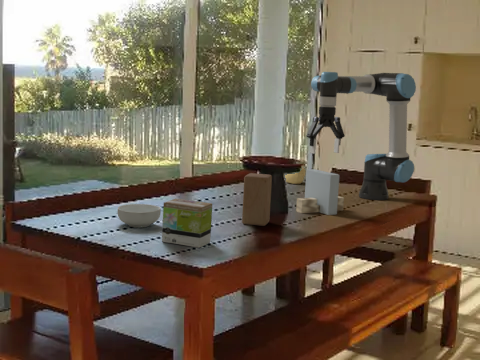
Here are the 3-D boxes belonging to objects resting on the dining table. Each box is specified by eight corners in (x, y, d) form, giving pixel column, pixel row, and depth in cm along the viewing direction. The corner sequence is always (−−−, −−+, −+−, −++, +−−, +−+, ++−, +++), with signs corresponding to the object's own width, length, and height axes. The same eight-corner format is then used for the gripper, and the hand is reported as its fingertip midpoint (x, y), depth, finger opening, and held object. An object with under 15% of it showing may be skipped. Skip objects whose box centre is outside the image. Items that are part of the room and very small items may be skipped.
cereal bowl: (121, 219, 294) (122, 202, 293) (162, 222, 294) (163, 204, 293) (113, 228, 277) (113, 210, 276) (156, 231, 277) (157, 212, 276)
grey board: (304, 207, 342) (306, 169, 340) (312, 207, 345) (315, 169, 342) (327, 214, 327) (330, 175, 325) (336, 214, 330) (339, 174, 327)
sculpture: (299, 185, 411) (300, 166, 409) (280, 183, 417) (281, 164, 415) (307, 183, 421) (309, 165, 419) (289, 181, 427) (290, 162, 425)
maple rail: (337, 208, 344) (338, 196, 343) (343, 210, 341) (344, 197, 340) (296, 211, 331) (296, 198, 331) (301, 213, 328) (302, 200, 327)
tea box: (161, 242, 259) (162, 201, 257) (173, 237, 268) (175, 197, 266) (199, 248, 253) (201, 206, 251) (211, 242, 263) (213, 202, 261)
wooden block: (265, 226, 295) (268, 177, 292) (241, 224, 297) (243, 175, 294) (269, 222, 305) (272, 174, 302) (246, 219, 307) (248, 172, 304)
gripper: (343, 106, 340) (340, 151, 344) (300, 105, 327) (297, 152, 330) (354, 107, 334) (351, 153, 337) (310, 106, 321) (307, 154, 324)
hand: (324, 153), depth 334 cm, fingers open, 13 cm apart
